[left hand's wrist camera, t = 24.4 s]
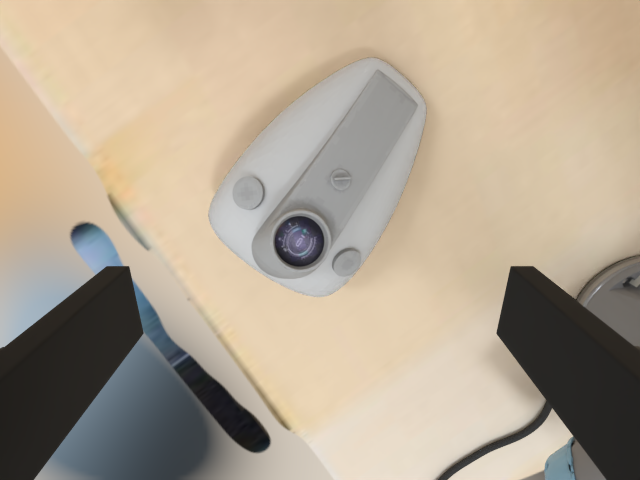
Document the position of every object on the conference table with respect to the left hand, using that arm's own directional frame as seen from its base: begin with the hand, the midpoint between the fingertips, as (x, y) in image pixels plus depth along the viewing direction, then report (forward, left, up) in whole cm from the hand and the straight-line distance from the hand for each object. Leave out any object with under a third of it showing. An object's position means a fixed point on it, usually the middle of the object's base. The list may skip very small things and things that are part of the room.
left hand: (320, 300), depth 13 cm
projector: (0, -1, -29) cm, 29 cm away
